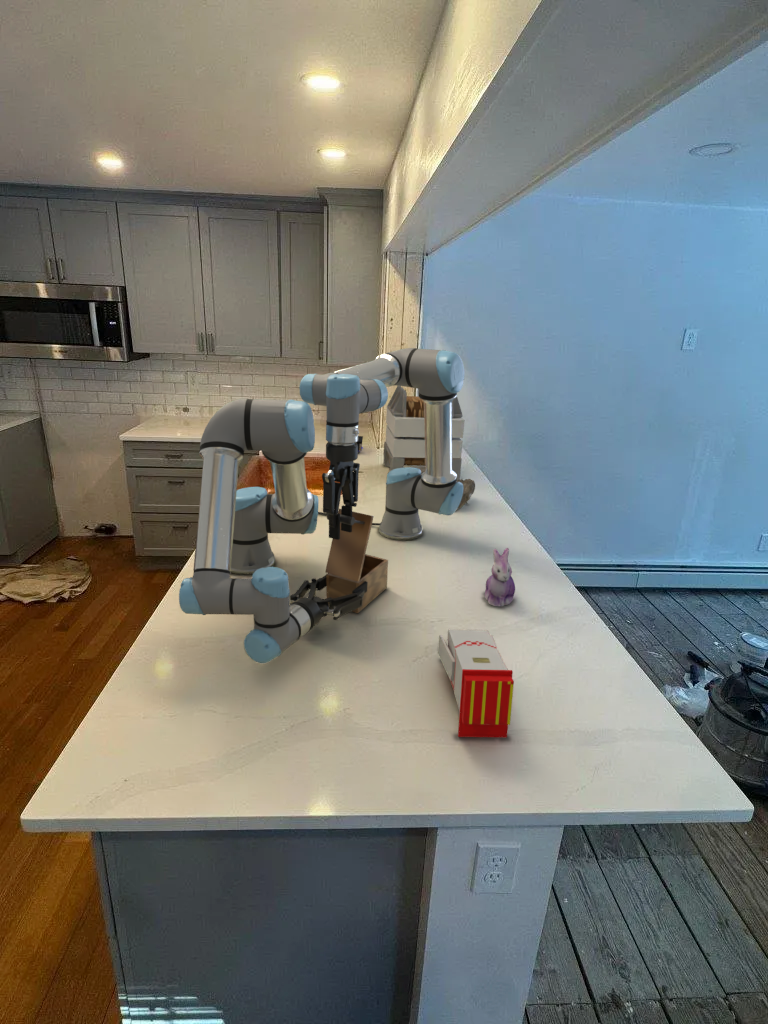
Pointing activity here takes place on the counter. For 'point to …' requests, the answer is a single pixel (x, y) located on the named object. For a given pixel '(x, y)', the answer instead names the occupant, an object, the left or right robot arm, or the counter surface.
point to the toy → (478, 682)
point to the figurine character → (359, 443)
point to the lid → (350, 547)
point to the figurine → (500, 581)
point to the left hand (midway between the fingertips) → (348, 581)
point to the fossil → (466, 490)
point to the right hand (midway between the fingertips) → (340, 534)
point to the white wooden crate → (415, 432)
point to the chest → (361, 581)
